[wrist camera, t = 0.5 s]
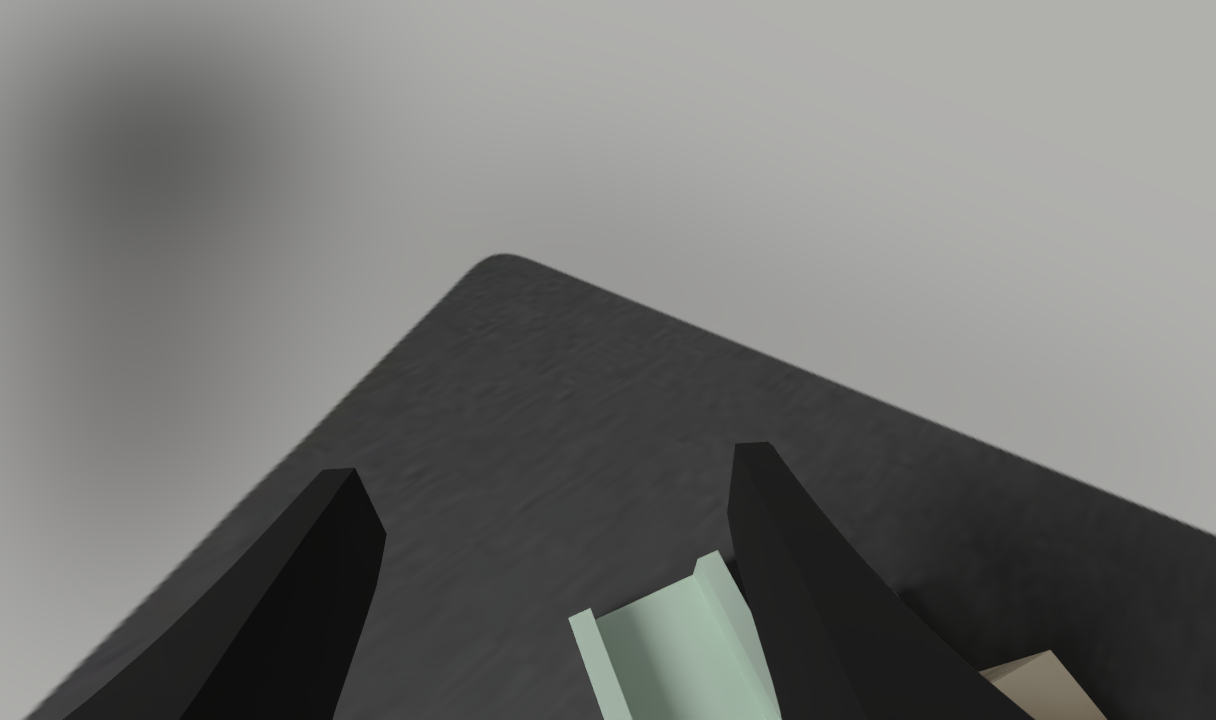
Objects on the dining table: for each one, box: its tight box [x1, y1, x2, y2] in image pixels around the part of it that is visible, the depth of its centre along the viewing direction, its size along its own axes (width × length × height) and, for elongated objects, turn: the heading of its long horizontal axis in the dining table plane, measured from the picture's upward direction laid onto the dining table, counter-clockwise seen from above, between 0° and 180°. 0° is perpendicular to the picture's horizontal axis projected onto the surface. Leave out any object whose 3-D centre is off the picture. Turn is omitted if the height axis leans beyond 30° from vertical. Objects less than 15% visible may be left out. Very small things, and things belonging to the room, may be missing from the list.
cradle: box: [569, 550, 782, 720], centre depth 23 cm, size 9×7×3 cm
